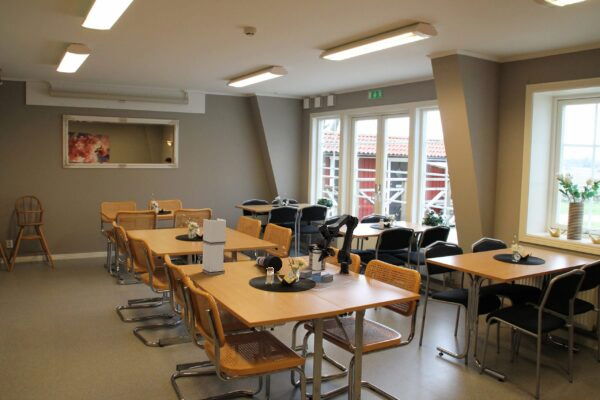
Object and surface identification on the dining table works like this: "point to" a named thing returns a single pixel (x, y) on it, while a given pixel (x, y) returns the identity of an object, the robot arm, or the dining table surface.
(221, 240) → the white stacked pillar
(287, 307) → the dining table surface
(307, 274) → the grey compartment tray
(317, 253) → the plug
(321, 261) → the decorative jar
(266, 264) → the black bottle
